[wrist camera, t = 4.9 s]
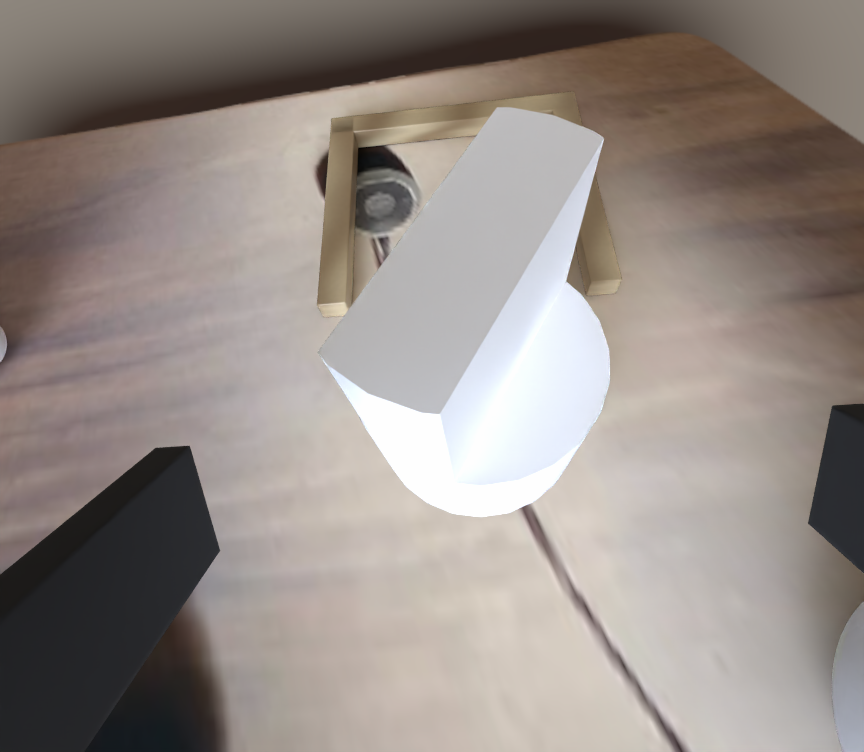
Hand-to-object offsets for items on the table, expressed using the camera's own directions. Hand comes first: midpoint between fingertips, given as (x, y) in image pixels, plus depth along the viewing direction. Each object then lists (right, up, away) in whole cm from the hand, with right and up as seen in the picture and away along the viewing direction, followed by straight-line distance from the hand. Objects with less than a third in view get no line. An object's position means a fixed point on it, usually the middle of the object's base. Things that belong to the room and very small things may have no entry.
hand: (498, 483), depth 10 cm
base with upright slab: (+1, 0, +12) cm, 12 cm away
